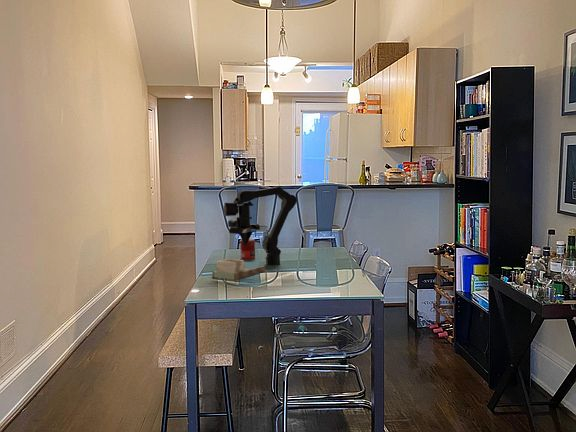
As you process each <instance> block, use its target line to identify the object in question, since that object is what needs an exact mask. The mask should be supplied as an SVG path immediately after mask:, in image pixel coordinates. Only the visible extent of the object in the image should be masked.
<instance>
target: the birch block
mask: <svg viewBox="0 0 576 432" xmlns="http://www.w3.org/2000/svg"><path fill="white" fill-rule="evenodd" d="M244 269H245V259H238V258H223V259H220V260H216V271H217V272H224V273H233V274H236V273H240V272H243V271H244Z"/></svg>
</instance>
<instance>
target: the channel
mask: <svg viewBox="0 0 576 432" xmlns="http://www.w3.org/2000/svg"><path fill="white" fill-rule="evenodd" d="M214 272H217V270H213V271H212V280H215V279H214V278H215V277H214ZM263 272H266V266H265V265H261V266H257V267H254V268H244V271H243V272H240V273H236V274H234V282H235V283H237V282H238V280H240V279H244V278H246V277H250V276H253V275H256V274H260V273H263Z"/></svg>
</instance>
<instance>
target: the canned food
mask: <svg viewBox="0 0 576 432" xmlns="http://www.w3.org/2000/svg"><path fill="white" fill-rule="evenodd" d="M240 253H241V255H240V256H241V257H240V258H241V260H254V259H256V239H255V238H252V237H250V238H249V241H248V243H247V245H244V244H243V241H242V239H241V238H240Z"/></svg>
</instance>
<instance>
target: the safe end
mask: <svg viewBox="0 0 576 432" xmlns="http://www.w3.org/2000/svg"><path fill="white" fill-rule="evenodd" d="M213 278H214V279H213V280H219V281H227V282H232V283H233V282H234V281H235V280H234V274H233V273H224V272H214V277H213Z"/></svg>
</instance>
